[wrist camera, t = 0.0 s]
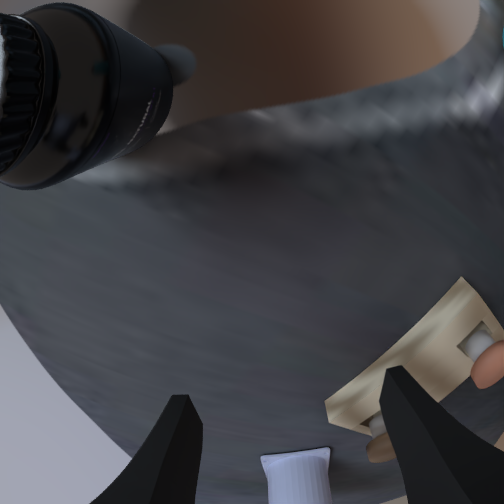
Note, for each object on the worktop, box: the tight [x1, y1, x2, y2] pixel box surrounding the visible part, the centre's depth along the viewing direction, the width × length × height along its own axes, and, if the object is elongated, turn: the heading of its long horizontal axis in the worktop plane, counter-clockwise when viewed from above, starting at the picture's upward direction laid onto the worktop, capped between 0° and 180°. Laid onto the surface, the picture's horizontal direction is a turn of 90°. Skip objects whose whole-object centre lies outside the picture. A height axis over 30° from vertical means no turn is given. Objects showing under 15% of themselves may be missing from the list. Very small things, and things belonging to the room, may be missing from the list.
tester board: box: [325, 277, 504, 436], centre depth 23 cm, size 16×9×2 cm, turn 143°
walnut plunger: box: [366, 414, 397, 463], centre depth 22 cm, size 4×4×4 cm
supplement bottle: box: [0, 2, 173, 190], centre depth 9 cm, size 7×7×12 cm
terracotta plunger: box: [465, 330, 504, 389], centre depth 18 cm, size 4×4×4 cm
